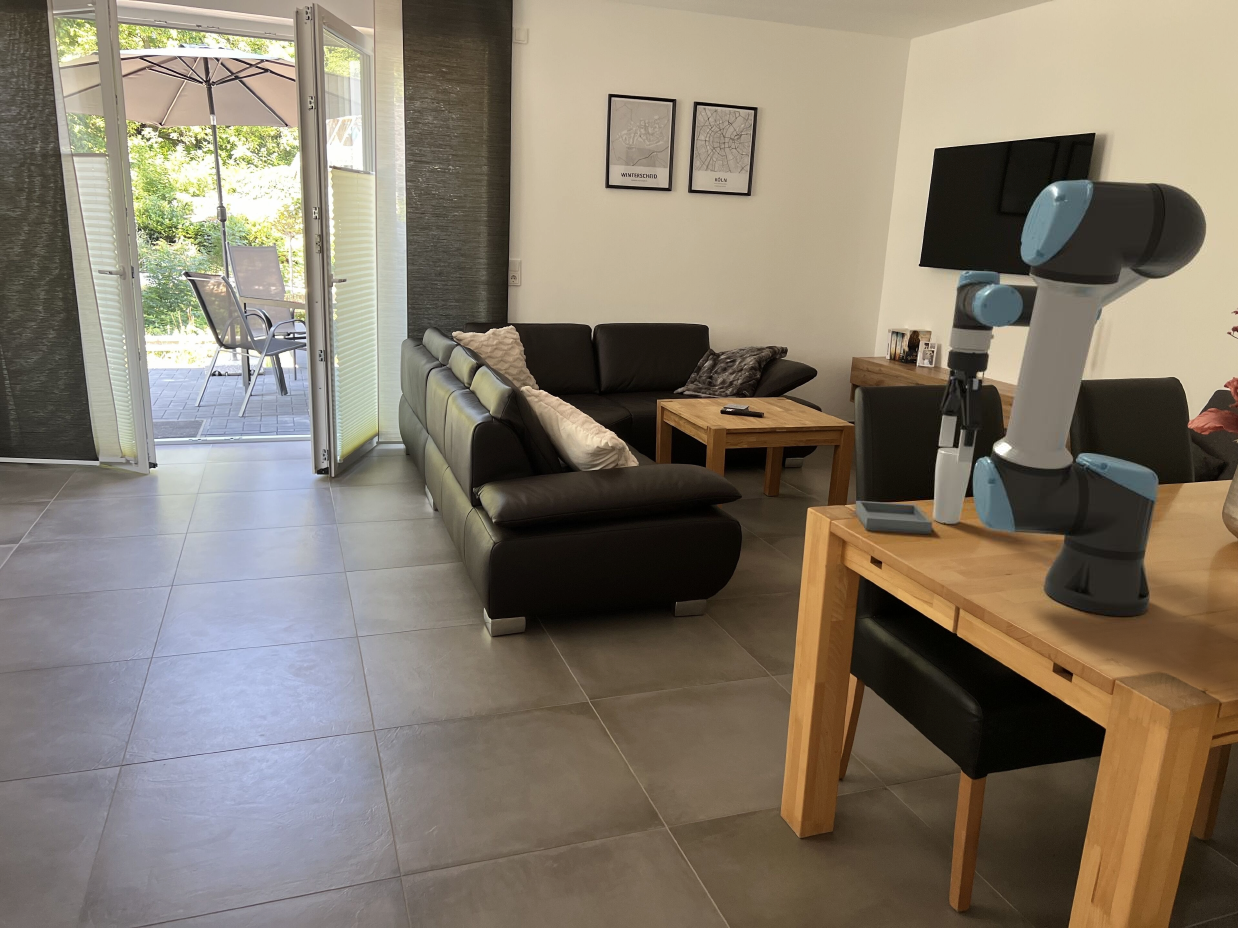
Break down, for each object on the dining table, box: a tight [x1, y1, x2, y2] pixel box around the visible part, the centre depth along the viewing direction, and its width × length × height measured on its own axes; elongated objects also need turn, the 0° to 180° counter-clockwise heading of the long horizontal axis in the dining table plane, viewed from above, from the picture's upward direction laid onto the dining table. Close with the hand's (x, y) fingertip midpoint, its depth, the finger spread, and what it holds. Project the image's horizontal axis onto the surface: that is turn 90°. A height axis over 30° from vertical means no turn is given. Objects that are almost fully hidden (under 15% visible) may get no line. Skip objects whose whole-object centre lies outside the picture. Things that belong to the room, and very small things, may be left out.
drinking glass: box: [932, 447, 973, 525], centre depth 182 cm, size 7×7×15 cm
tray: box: [854, 500, 933, 535], centre depth 180 cm, size 13×13×2 cm
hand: (954, 453), depth 180 cm, fingers open, 13 cm apart
